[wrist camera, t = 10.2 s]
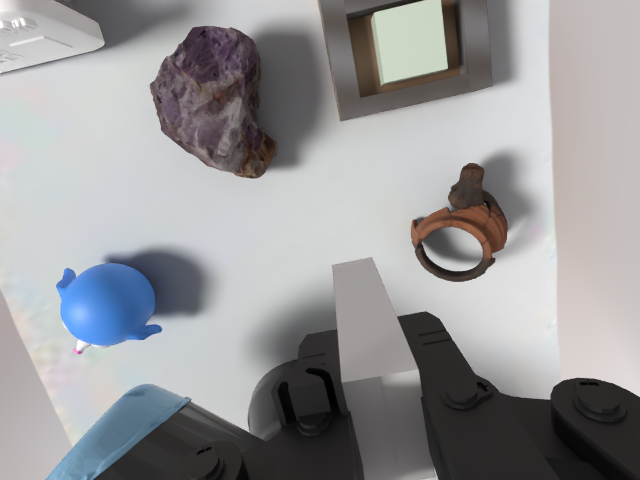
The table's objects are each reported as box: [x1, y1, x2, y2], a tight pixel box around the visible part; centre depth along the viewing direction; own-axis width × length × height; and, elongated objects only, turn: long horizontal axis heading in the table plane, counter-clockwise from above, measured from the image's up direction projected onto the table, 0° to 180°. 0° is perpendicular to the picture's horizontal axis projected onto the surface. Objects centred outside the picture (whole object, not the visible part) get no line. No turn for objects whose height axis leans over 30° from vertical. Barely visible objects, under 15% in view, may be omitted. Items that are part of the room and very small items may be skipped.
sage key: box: [371, 0, 448, 86], centre depth 31 cm, size 6×6×2 cm
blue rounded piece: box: [56, 263, 162, 354], centre depth 38 cm, size 12×12×8 cm
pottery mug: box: [411, 163, 508, 282], centre depth 37 cm, size 12×10×8 cm
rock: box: [150, 26, 278, 178], centre depth 33 cm, size 12×9×10 cm
